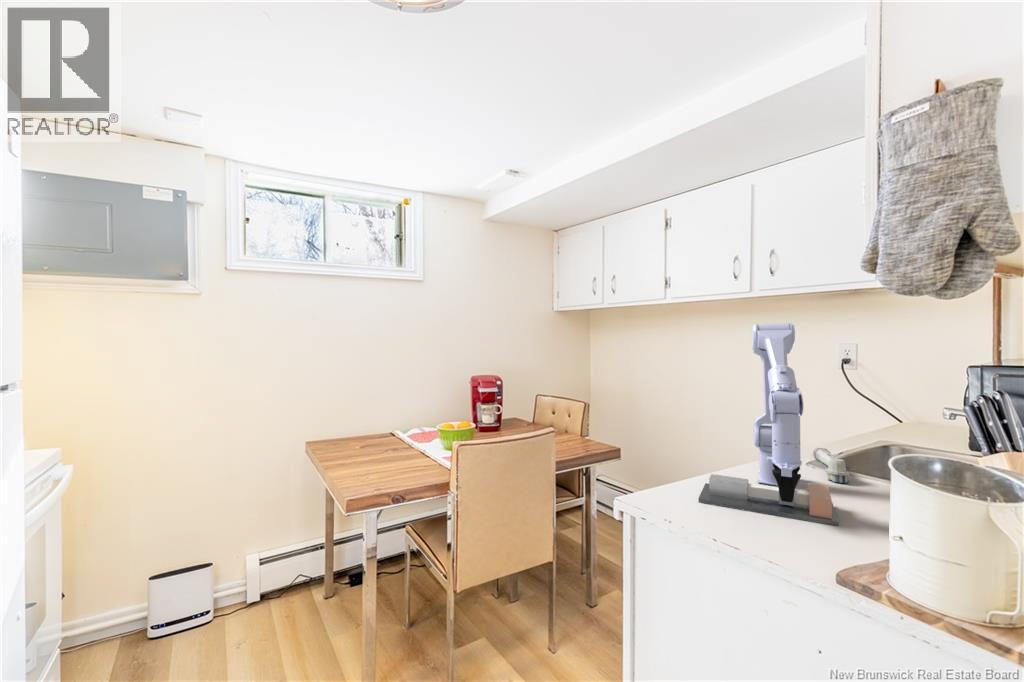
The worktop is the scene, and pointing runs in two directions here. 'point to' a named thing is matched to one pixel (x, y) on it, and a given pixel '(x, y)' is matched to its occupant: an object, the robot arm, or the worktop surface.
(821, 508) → the socket block
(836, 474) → the handheld shower head
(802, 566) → the worktop surface
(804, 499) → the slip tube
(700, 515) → the worktop surface
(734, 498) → the sleeve base
